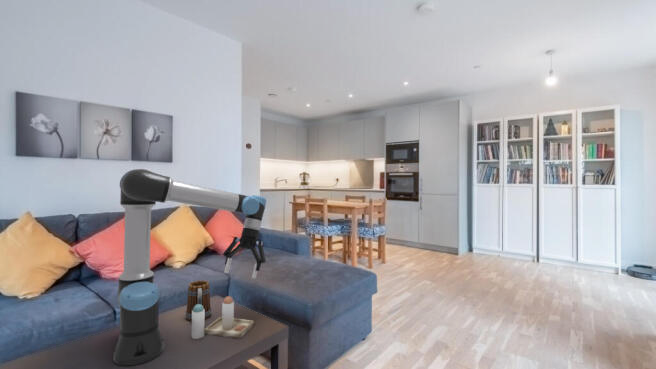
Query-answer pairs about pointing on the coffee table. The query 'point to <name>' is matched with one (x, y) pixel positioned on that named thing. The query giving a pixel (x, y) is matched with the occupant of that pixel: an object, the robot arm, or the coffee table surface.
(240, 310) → the coffee table surface
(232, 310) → the tube terracotta
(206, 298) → the mug
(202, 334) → the tube teal
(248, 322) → the tray
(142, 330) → the robot arm
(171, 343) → the coffee table surface
